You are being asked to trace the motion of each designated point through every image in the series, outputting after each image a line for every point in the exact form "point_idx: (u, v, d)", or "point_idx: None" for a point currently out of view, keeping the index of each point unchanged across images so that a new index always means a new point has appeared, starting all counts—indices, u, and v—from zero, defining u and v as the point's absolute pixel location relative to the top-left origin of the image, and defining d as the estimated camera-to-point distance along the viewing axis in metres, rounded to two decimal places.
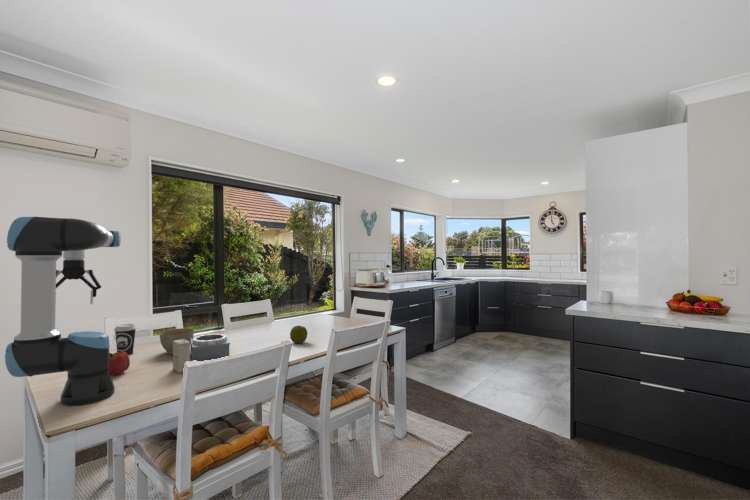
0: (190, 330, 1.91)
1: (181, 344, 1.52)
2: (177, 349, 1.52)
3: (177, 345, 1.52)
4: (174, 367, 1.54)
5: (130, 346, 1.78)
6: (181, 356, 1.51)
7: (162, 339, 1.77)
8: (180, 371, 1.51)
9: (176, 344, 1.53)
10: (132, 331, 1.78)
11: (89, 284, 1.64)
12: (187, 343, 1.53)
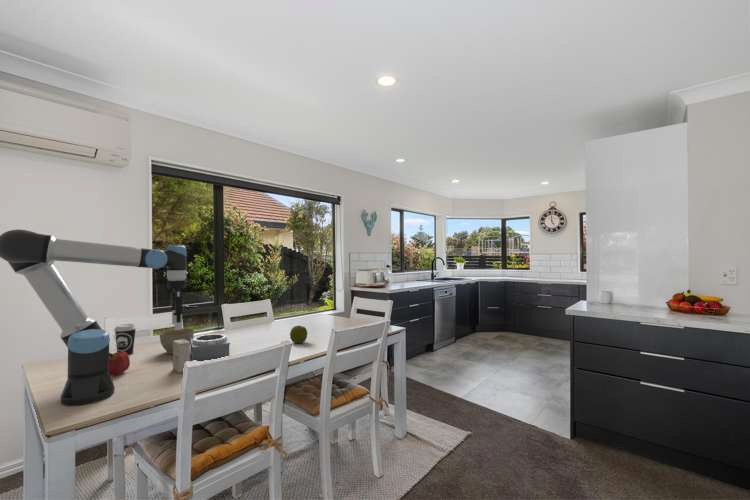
0: (190, 330, 1.91)
1: (181, 344, 1.52)
2: (177, 349, 1.52)
3: (177, 345, 1.52)
4: (174, 367, 1.54)
5: (130, 346, 1.78)
6: (181, 356, 1.51)
7: (162, 339, 1.77)
8: (180, 371, 1.51)
9: (176, 344, 1.53)
10: (132, 331, 1.78)
11: (175, 308, 1.50)
12: (187, 343, 1.53)
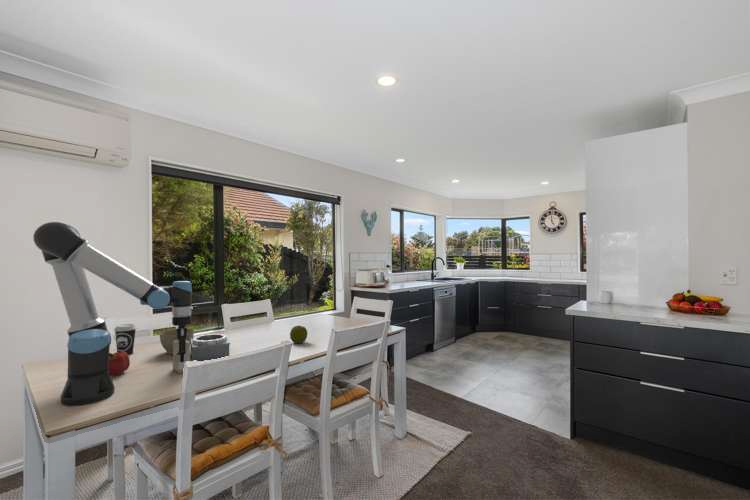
0: (190, 330, 1.91)
1: None
2: (177, 349, 1.52)
3: (177, 345, 1.52)
4: (174, 367, 1.54)
5: (130, 346, 1.78)
6: None
7: (162, 339, 1.77)
8: (180, 371, 1.51)
9: (176, 344, 1.53)
10: (132, 331, 1.78)
11: None
12: (187, 343, 1.53)
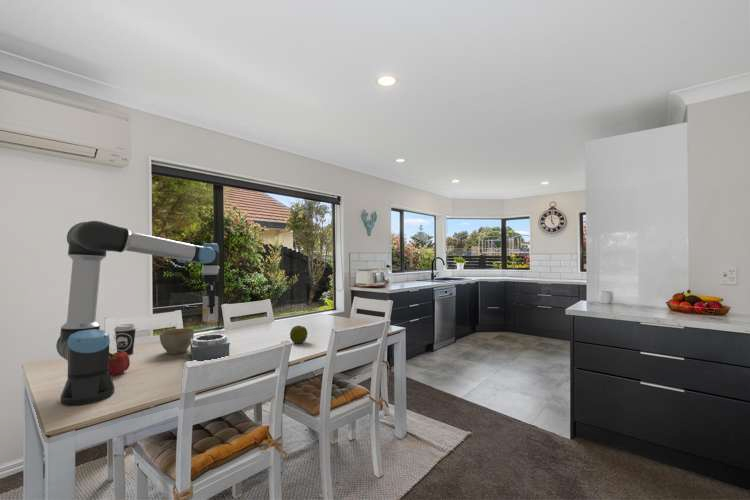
0: (190, 330, 1.91)
1: None
2: (207, 303, 1.72)
3: (207, 299, 1.72)
4: (204, 319, 1.74)
5: (130, 346, 1.78)
6: None
7: (162, 339, 1.77)
8: (210, 322, 1.71)
9: (206, 298, 1.73)
10: (132, 331, 1.78)
11: None
12: (216, 298, 1.73)
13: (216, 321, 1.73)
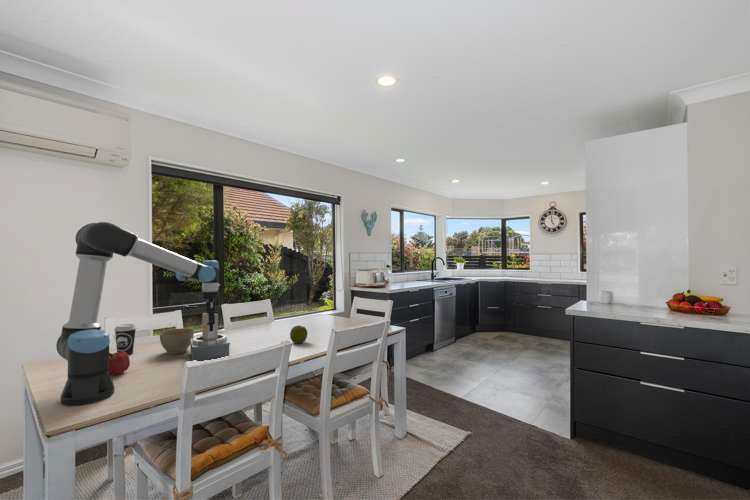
0: (190, 330, 1.91)
1: None
2: (207, 320, 1.72)
3: (206, 317, 1.72)
4: (204, 336, 1.74)
5: (130, 346, 1.78)
6: None
7: (162, 339, 1.77)
8: (209, 339, 1.71)
9: (206, 316, 1.73)
10: (132, 331, 1.78)
11: (208, 317, 1.70)
12: (215, 315, 1.73)
13: (216, 338, 1.73)
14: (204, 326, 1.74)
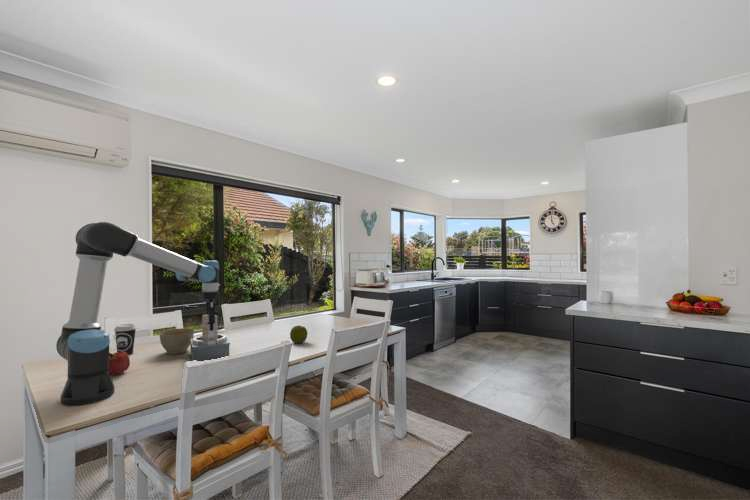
0: (190, 330, 1.91)
1: None
2: (206, 322, 1.72)
3: (206, 318, 1.72)
4: (203, 338, 1.74)
5: (130, 346, 1.78)
6: None
7: (162, 339, 1.77)
8: None
9: (205, 317, 1.73)
10: (132, 331, 1.78)
11: None
12: (215, 316, 1.73)
13: None
14: (204, 328, 1.74)
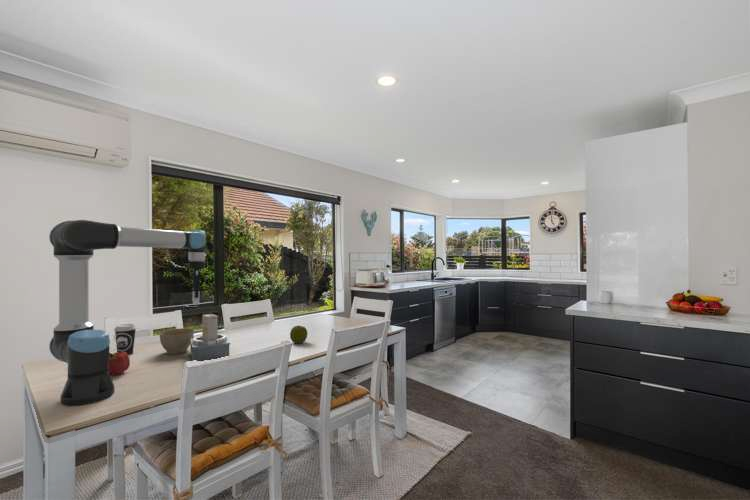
0: (190, 330, 1.91)
1: (210, 317, 1.71)
2: (206, 322, 1.72)
3: (206, 318, 1.72)
4: (203, 338, 1.74)
5: (130, 346, 1.78)
6: (210, 328, 1.71)
7: (162, 339, 1.77)
8: None
9: (205, 317, 1.73)
10: (132, 331, 1.78)
11: None
12: (215, 316, 1.73)
13: None
14: (204, 328, 1.74)
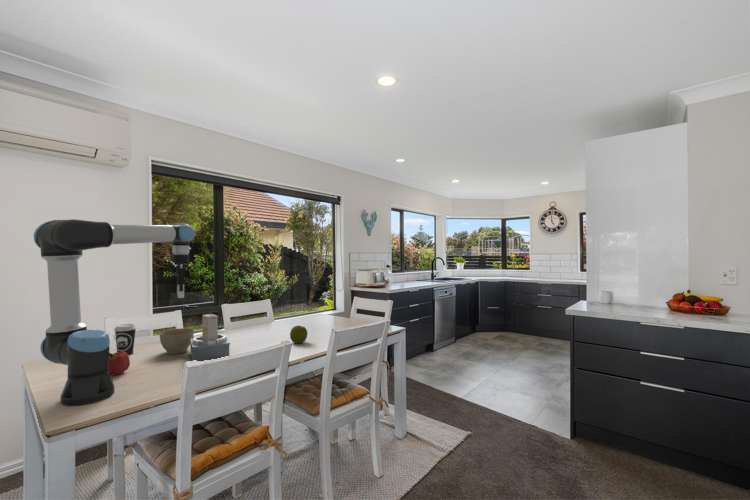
0: (190, 330, 1.91)
1: (210, 317, 1.71)
2: (206, 322, 1.72)
3: (206, 318, 1.72)
4: (203, 338, 1.74)
5: (130, 346, 1.78)
6: (210, 328, 1.71)
7: (162, 339, 1.77)
8: None
9: (205, 317, 1.73)
10: (132, 331, 1.78)
11: (178, 278, 1.69)
12: (215, 316, 1.73)
13: None
14: (204, 328, 1.74)
